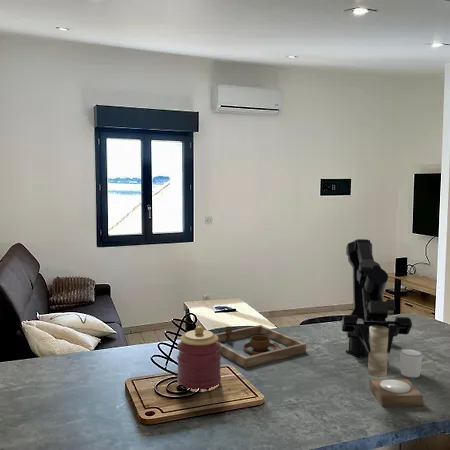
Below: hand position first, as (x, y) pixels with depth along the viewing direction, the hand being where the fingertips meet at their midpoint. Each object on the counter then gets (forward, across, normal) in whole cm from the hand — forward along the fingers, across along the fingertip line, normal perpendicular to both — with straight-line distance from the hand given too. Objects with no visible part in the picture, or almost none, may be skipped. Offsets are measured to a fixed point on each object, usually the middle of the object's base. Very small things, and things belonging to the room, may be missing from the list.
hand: (379, 352), depth 132 cm
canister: (+8, -51, +12) cm, 53 cm away
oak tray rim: (-16, -37, +35) cm, 53 cm away
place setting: (-17, -37, +37) cm, 55 cm away
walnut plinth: (+8, +5, +11) cm, 14 cm away
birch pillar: (+4, 0, +6) cm, 7 cm away
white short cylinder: (-4, +14, +24) cm, 28 cm away
